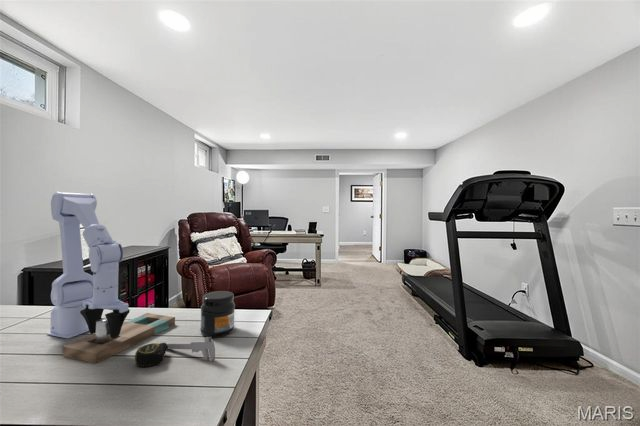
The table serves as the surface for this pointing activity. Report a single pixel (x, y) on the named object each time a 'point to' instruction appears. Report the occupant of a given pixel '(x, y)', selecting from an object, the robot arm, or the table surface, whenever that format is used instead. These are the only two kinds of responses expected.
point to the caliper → (196, 347)
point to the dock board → (119, 338)
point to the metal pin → (102, 331)
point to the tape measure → (150, 354)
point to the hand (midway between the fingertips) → (104, 334)
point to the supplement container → (217, 314)
